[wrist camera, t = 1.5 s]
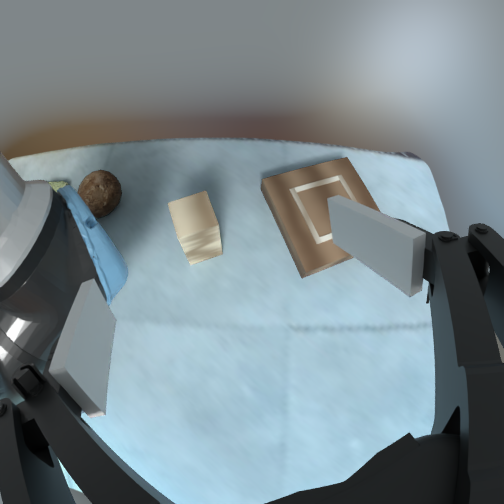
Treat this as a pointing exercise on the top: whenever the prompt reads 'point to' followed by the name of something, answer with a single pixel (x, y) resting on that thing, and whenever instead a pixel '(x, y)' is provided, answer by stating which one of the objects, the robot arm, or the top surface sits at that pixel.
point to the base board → (313, 210)
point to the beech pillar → (196, 227)
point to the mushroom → (100, 192)
